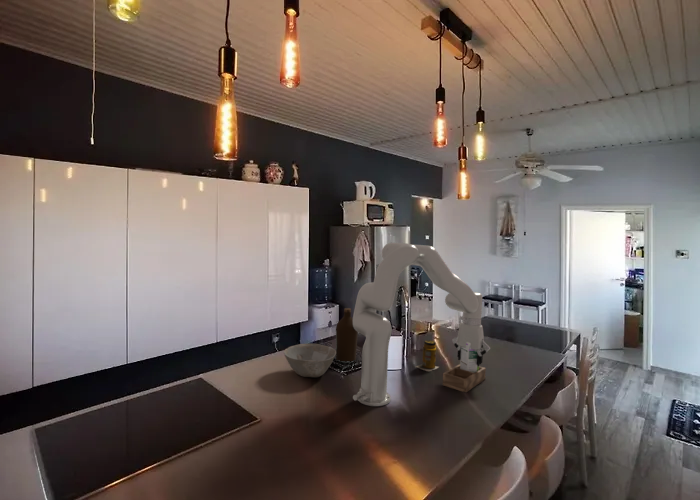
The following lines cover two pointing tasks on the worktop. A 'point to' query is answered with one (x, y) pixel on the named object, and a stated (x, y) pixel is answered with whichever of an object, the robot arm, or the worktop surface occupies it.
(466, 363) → the syrup box
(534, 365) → the worktop surface
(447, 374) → the box
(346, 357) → the olive oil
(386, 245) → the robot arm
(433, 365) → the condiment
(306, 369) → the ceramic bowl
